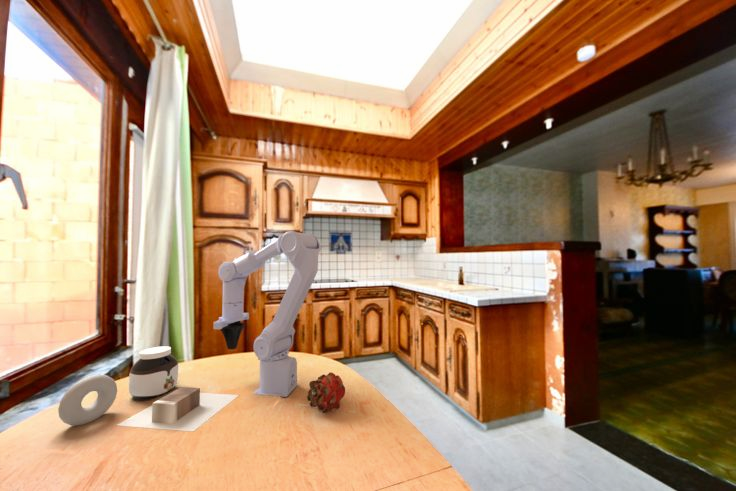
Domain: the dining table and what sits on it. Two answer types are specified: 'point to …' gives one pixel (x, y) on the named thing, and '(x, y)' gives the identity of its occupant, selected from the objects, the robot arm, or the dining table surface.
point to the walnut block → (175, 405)
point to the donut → (73, 397)
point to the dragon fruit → (326, 392)
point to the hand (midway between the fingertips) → (232, 348)
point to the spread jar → (153, 373)
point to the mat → (191, 420)
